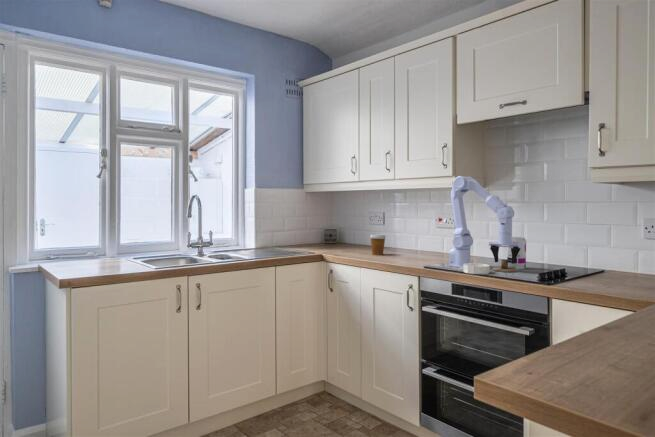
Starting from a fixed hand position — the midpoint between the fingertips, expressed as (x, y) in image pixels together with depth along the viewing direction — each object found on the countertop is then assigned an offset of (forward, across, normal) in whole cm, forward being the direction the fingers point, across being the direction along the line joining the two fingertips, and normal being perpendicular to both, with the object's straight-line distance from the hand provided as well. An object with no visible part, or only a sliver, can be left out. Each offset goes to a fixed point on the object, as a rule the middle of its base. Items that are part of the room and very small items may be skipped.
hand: (504, 262), depth 210 cm
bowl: (+4, -8, -12) cm, 15 cm away
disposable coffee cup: (+4, -81, +16) cm, 83 cm away
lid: (+4, 0, 0) cm, 4 cm away
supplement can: (+4, +1, +12) cm, 13 cm away
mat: (+4, -1, 0) cm, 4 cm away
